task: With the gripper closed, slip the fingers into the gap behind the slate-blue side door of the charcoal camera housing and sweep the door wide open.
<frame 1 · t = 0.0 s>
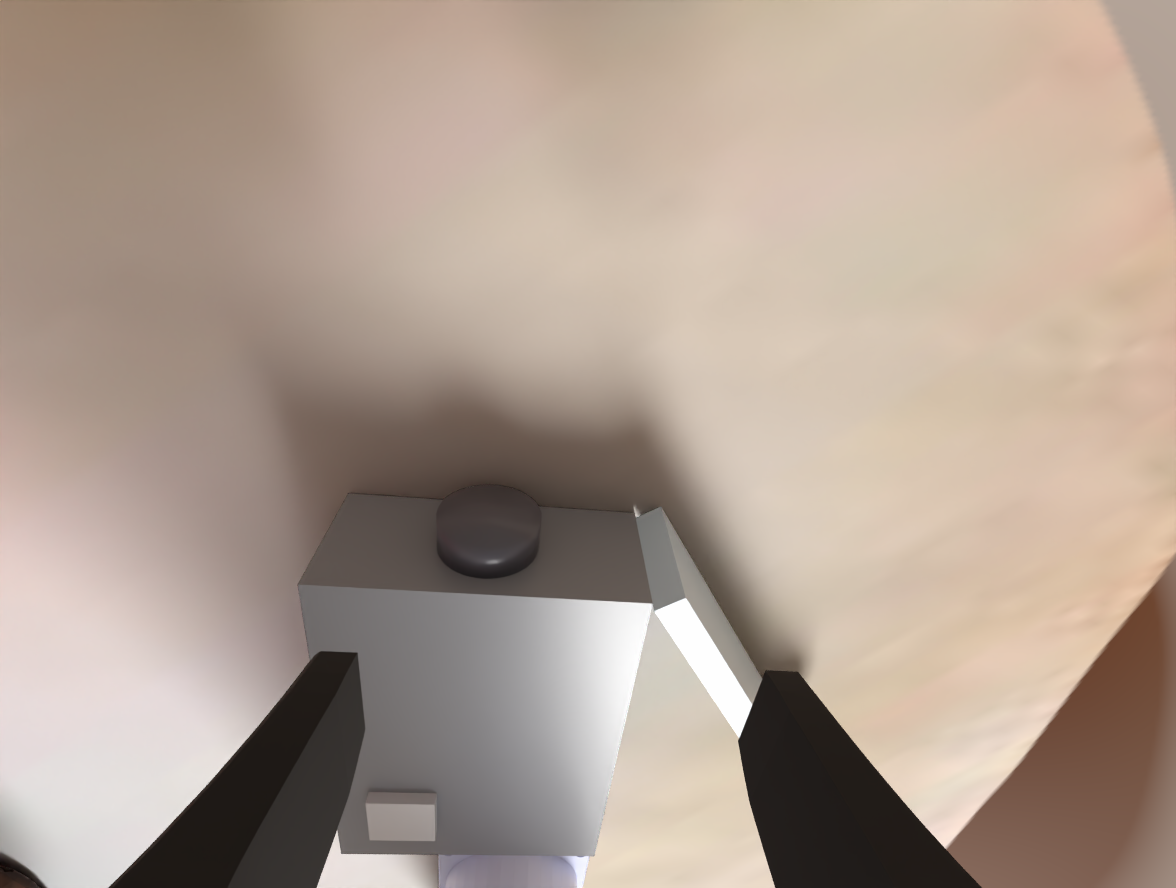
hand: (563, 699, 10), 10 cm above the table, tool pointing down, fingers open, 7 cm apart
camera housing: (488, 643, 24), on the table
side door: (751, 673, 22), point 3 cm above the table, hinge at 35.0°, touching camera housing
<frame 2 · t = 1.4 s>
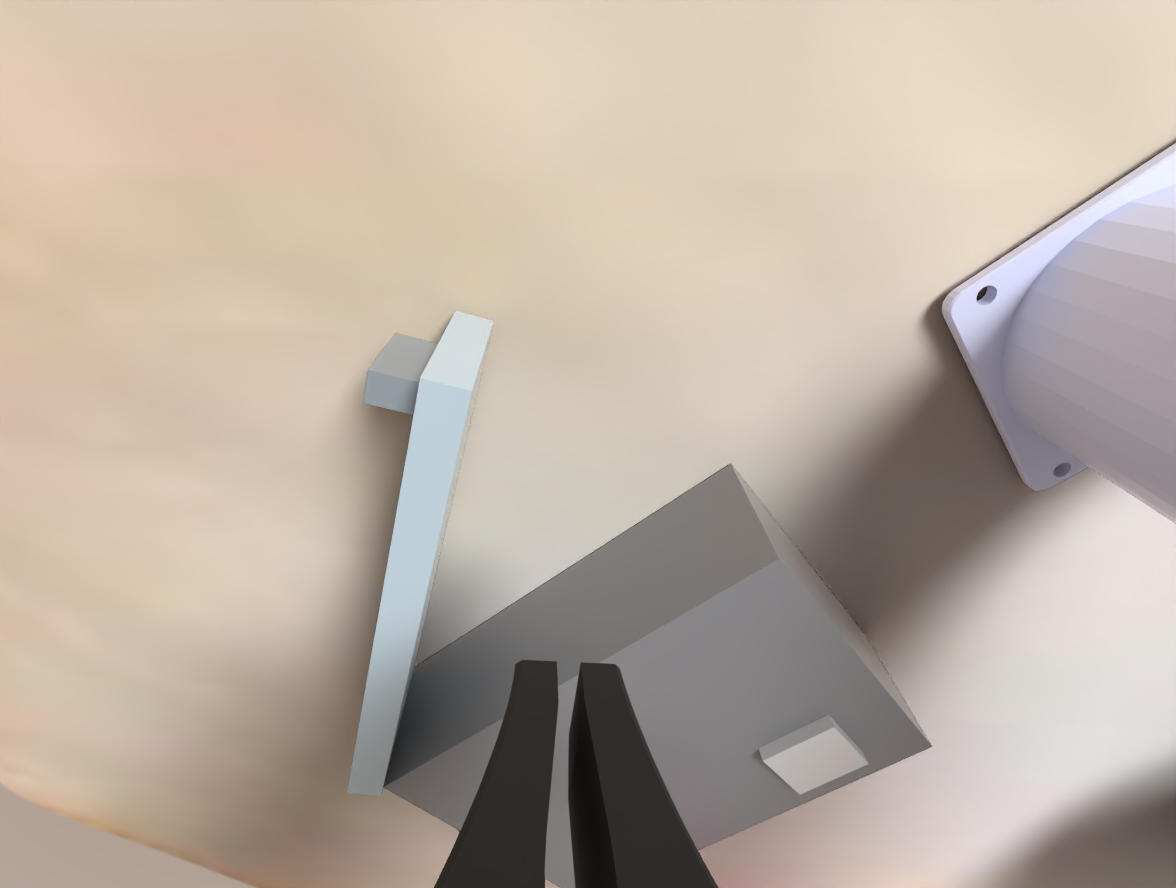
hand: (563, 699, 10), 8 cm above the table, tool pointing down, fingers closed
camera housing: (641, 651, 22), on the table
side door: (393, 569, 16), point 3 cm above the table, hinge at 35.0°, touching camera housing
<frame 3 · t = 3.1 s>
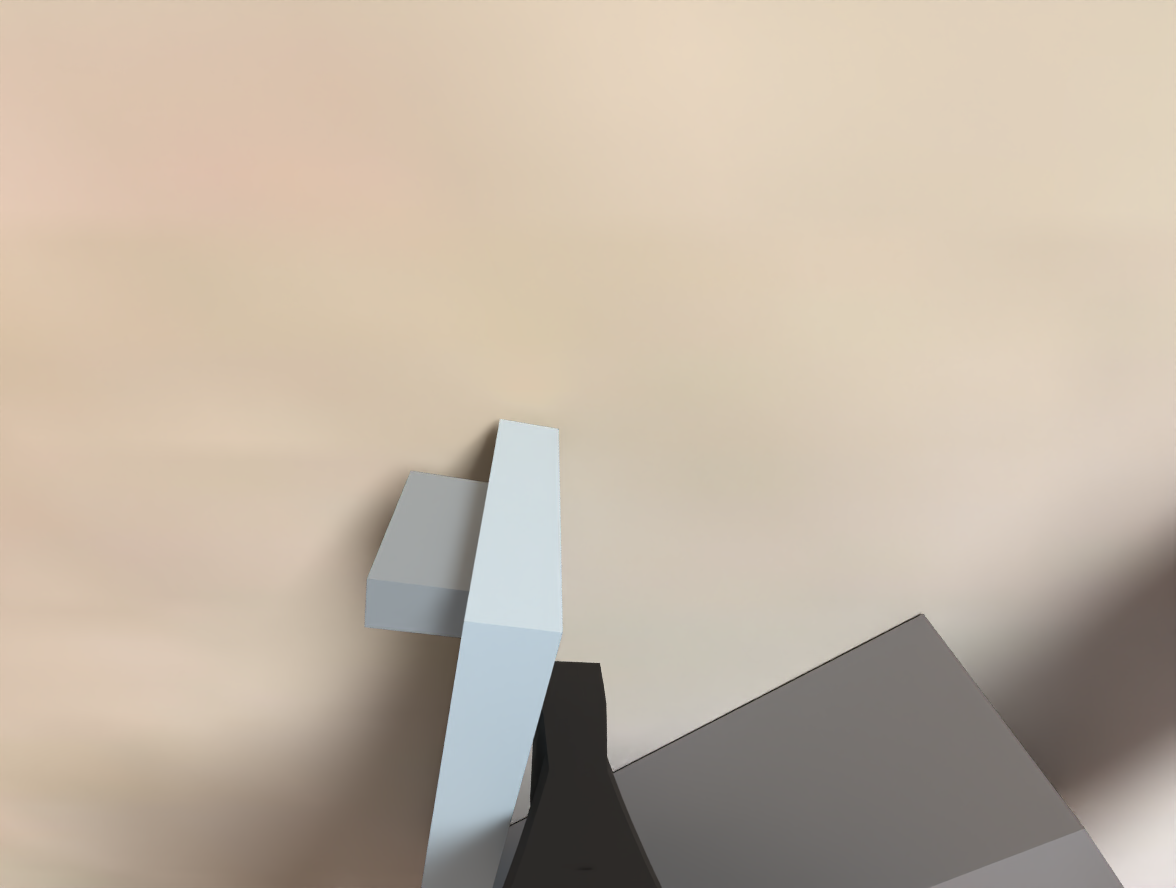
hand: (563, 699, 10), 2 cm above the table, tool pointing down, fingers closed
camera housing: (762, 825, 17), on the table
side door: (431, 796, 11), point 3 cm above the table, hinge at 39.5°, touching camera housing, gripper
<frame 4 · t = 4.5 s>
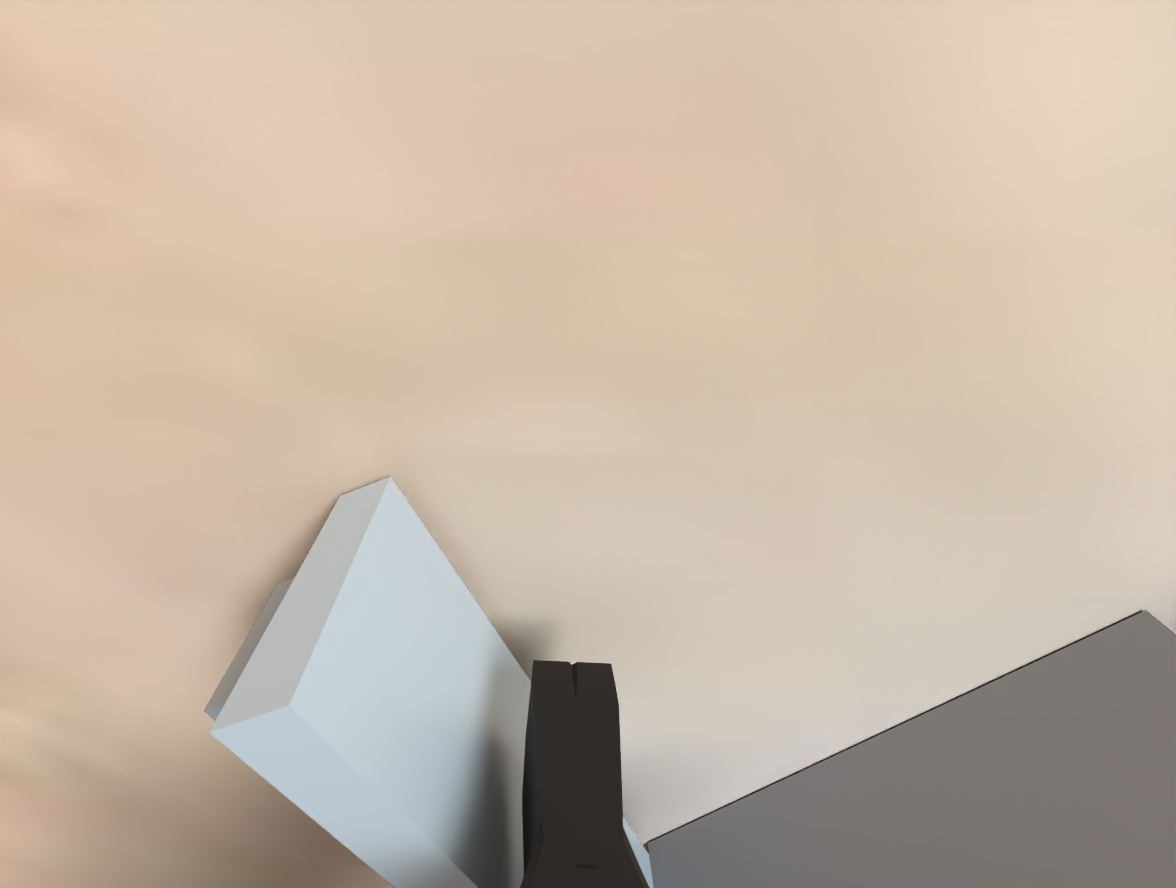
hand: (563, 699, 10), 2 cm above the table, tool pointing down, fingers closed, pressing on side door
camera housing: (936, 818, 17), on the table
side door: (501, 829, 12), point 3 cm above the table, hinge at 73.8°, touching gripper
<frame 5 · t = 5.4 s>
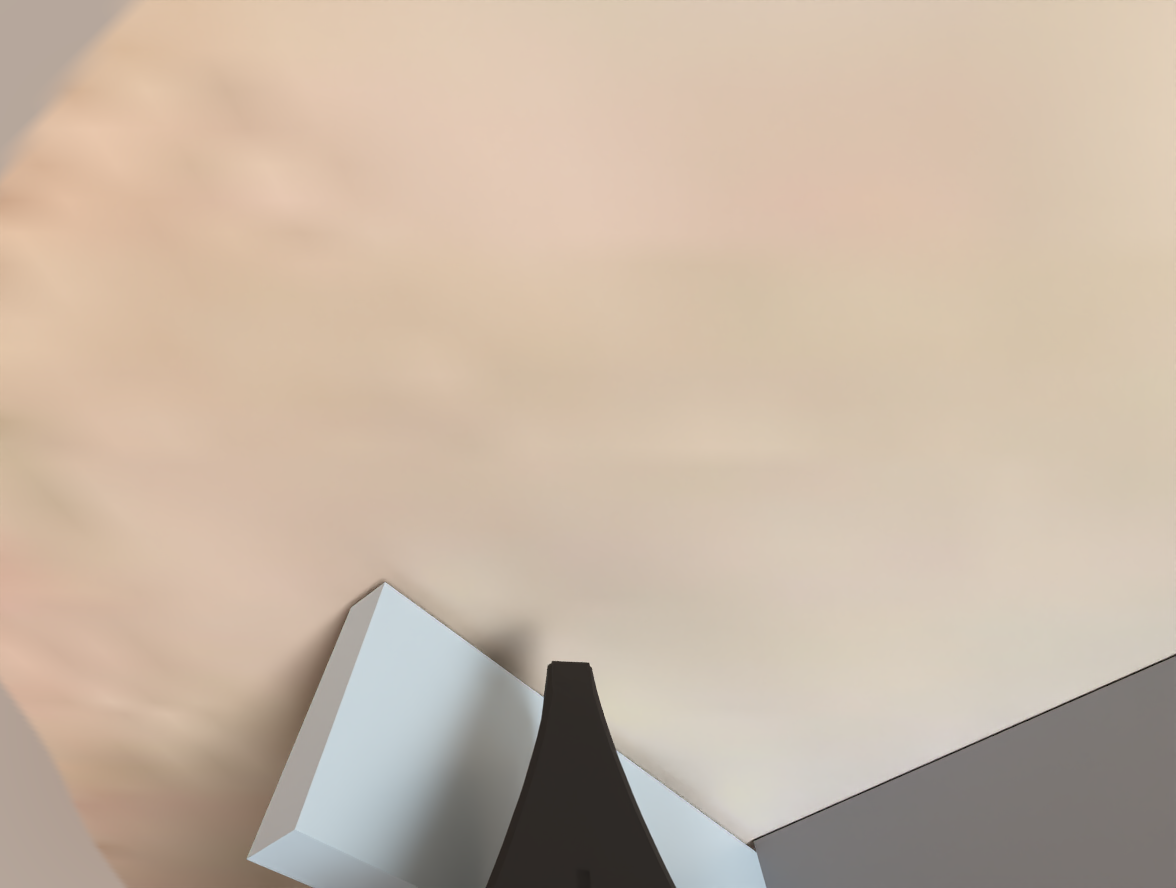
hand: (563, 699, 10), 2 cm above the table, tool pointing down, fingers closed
camera housing: (1037, 818, 17), on the table
side door: (576, 865, 12), point 3 cm above the table, hinge at 91.2°, touching gripper
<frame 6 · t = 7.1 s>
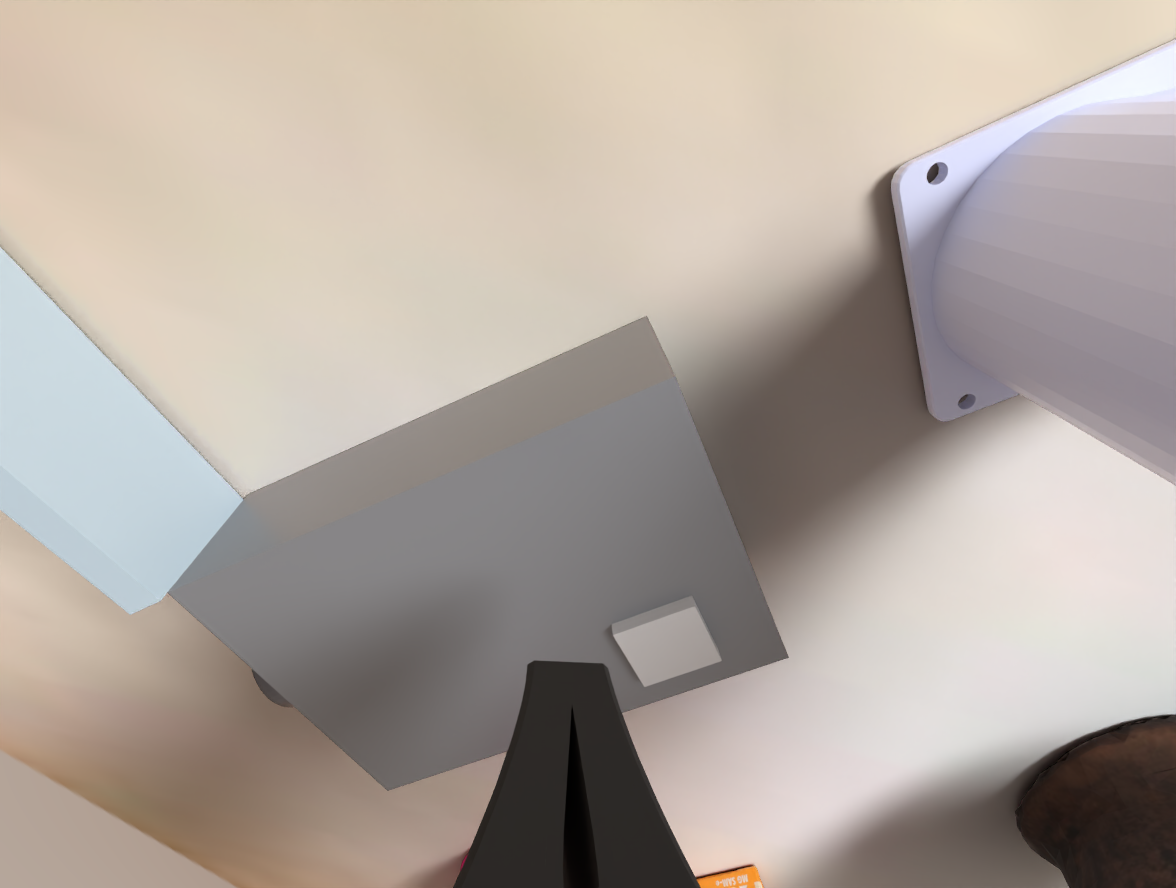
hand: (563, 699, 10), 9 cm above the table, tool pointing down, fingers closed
jug: (1129, 781, 30), on the table
camera housing: (511, 528, 20), on the table
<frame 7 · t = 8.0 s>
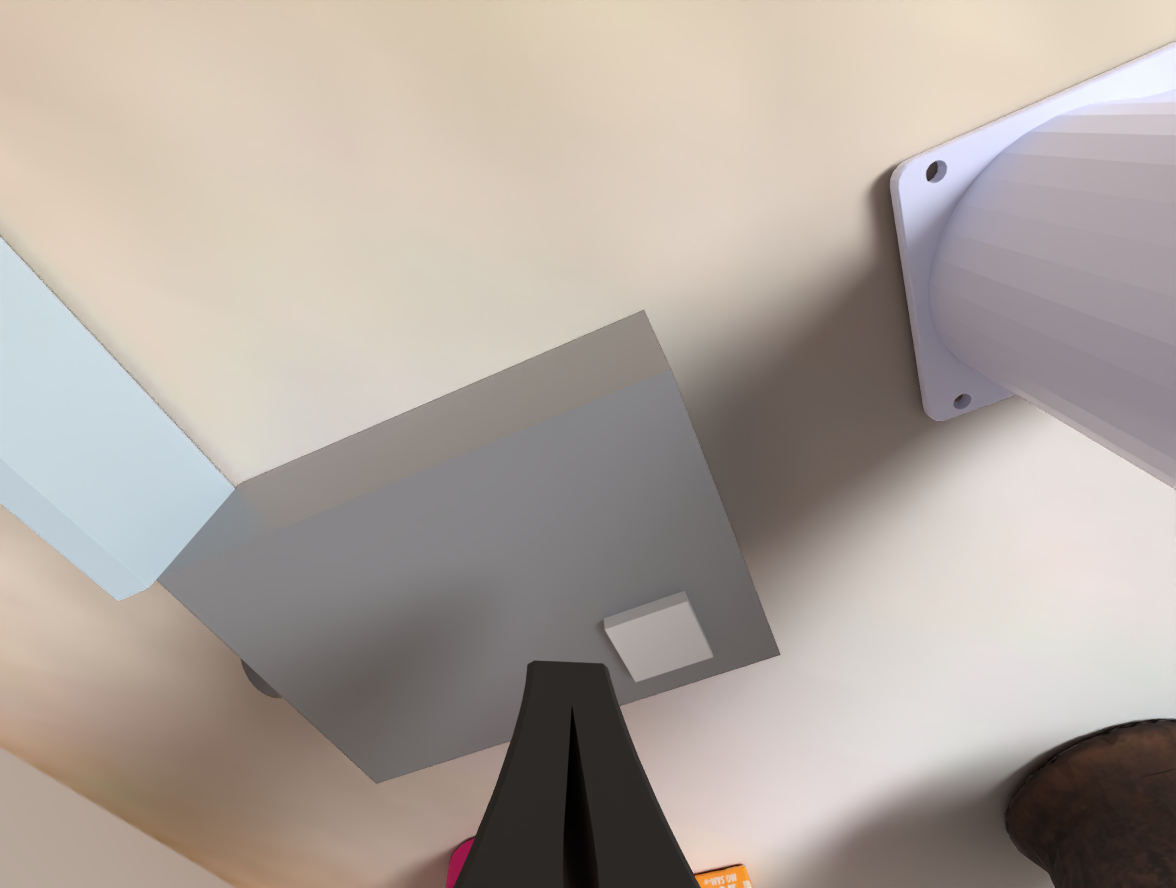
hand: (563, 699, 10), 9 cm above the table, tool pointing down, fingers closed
jug: (1118, 785, 30), on the table
camera housing: (505, 522, 20), on the table
pepper mill: (509, 857, 31), on the table
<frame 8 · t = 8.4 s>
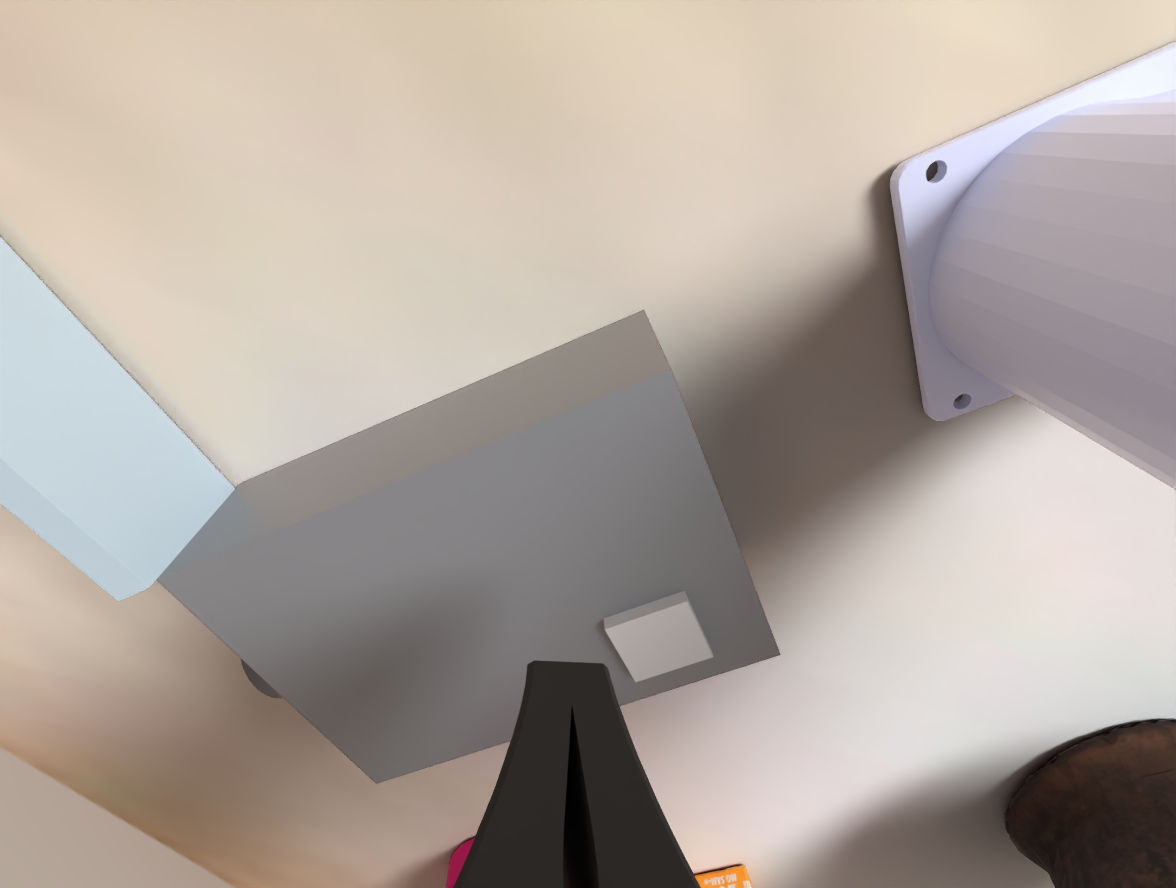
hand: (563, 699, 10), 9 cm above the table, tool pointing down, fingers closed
jug: (1118, 785, 30), on the table
camera housing: (505, 522, 20), on the table
pepper mill: (509, 857, 31), on the table
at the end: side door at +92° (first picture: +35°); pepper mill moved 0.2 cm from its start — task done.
